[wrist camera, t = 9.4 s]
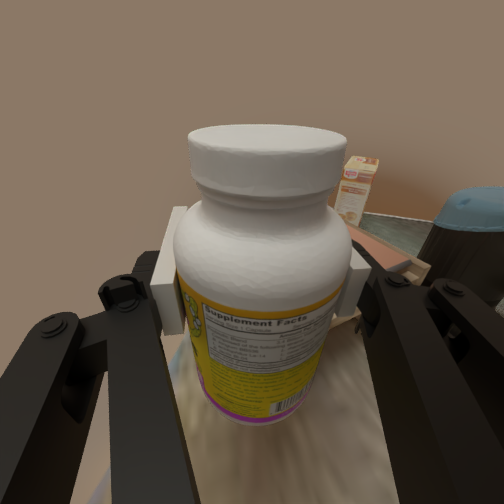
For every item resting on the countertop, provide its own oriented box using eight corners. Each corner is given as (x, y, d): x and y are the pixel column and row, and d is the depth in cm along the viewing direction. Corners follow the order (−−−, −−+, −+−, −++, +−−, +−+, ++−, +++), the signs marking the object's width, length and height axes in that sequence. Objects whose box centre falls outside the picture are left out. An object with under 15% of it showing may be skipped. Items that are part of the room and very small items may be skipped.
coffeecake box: (352, 248, 62) (376, 171, 51) (325, 241, 64) (342, 166, 53) (359, 225, 73) (380, 158, 62) (335, 219, 76) (351, 154, 65)
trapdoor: (326, 219, 42) (327, 214, 41) (410, 267, 31) (413, 261, 30) (251, 237, 36) (251, 231, 35) (322, 306, 25) (324, 299, 24)
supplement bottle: (219, 315, 18) (203, 117, 10) (310, 332, 17) (362, 124, 9) (178, 416, 12) (87, 145, 5) (310, 449, 11) (435, 170, 4)
